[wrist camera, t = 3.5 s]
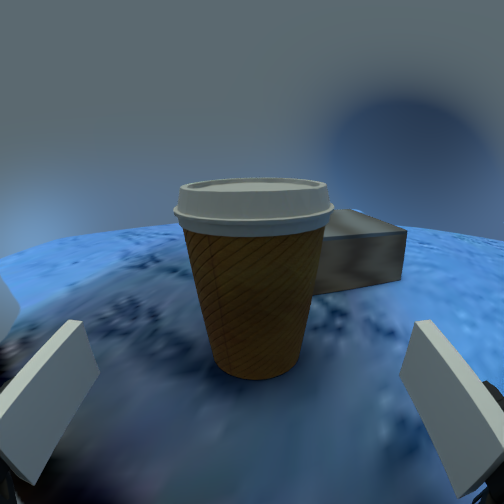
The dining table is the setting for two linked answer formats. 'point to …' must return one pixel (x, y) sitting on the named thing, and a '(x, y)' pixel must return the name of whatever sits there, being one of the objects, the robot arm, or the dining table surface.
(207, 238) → the disposable coffee cup
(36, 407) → the robot arm
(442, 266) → the dining table surface
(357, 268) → the block
